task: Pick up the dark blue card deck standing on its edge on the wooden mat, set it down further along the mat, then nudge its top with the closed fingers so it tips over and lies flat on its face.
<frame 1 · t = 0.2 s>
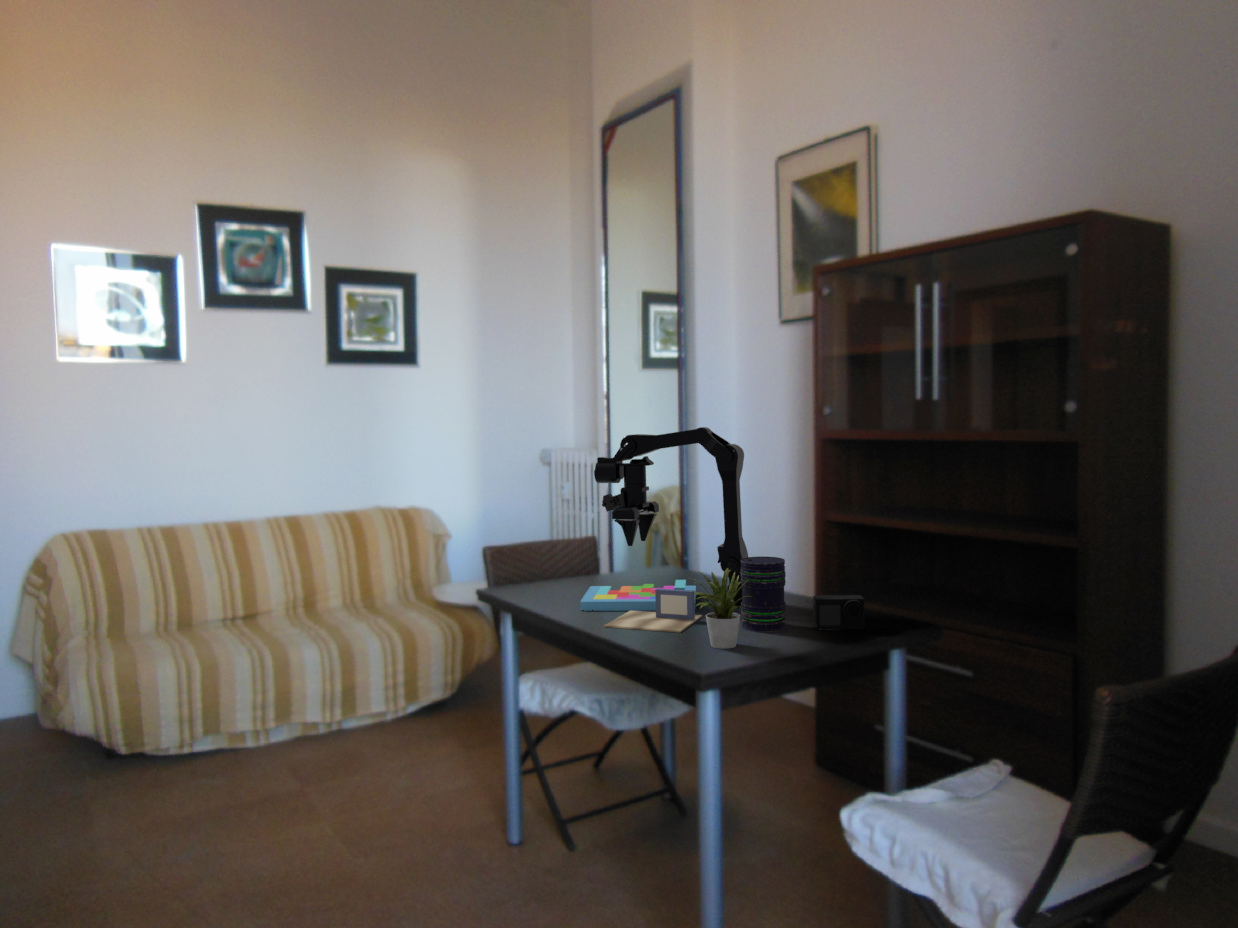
hand: (636, 543, 231), 14 cm above the table, tool pointing down, fingers open, 9 cm apart
wooden mat: (653, 621, 206), on the table
card deck: (675, 617, 207), resting on wooden mat
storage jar: (763, 627, 198), on the table
tetris game: (641, 601, 232), on the table
digital camera: (839, 629, 195), on the table
house plant: (720, 644, 185), on the table
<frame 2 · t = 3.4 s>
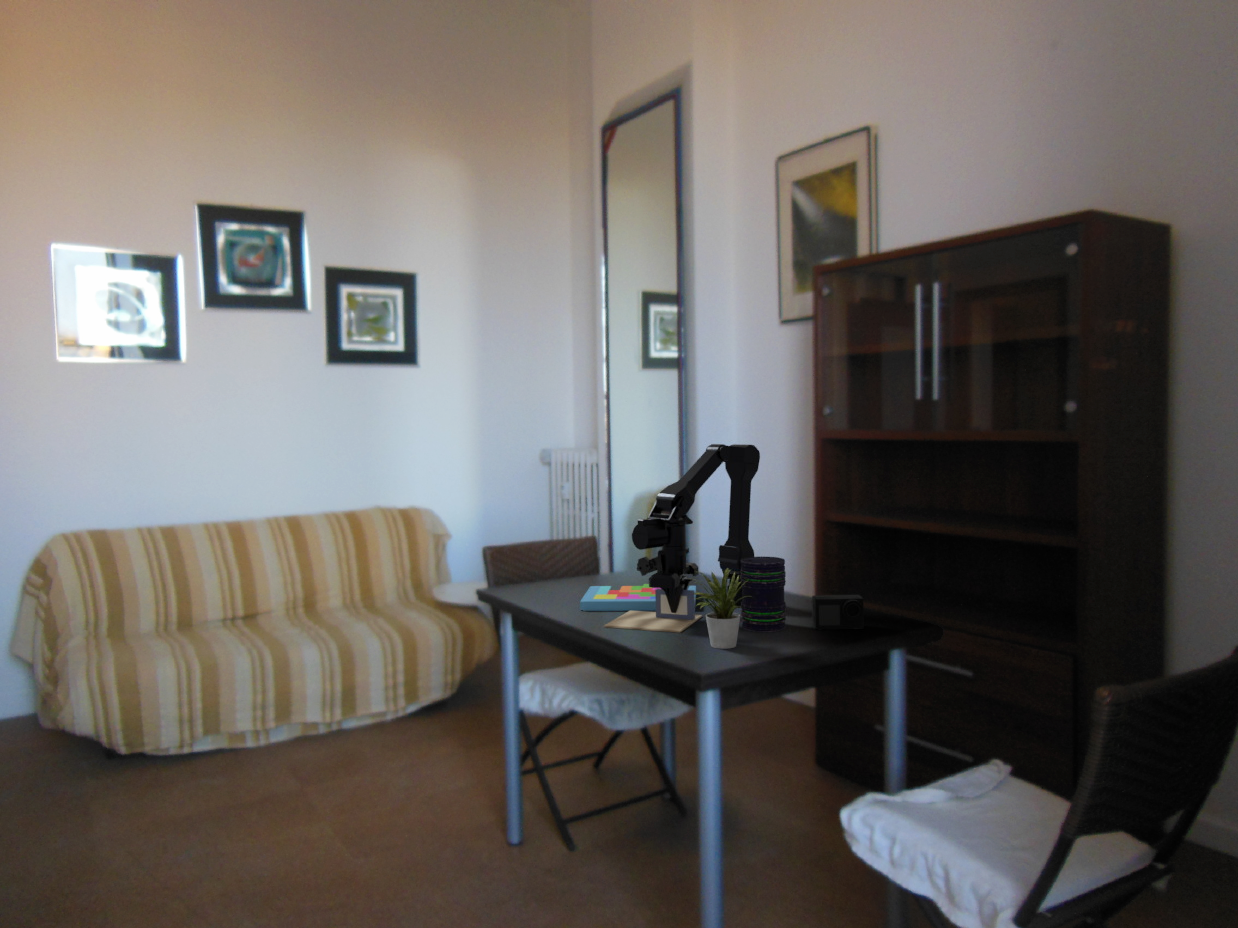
hand: (675, 611, 207), 2 cm above the table, tool pointing down, fingers closed on card deck, 2 cm apart
card deck: (675, 617, 207), resting on wooden mat, touching gripper
everything else where it was.
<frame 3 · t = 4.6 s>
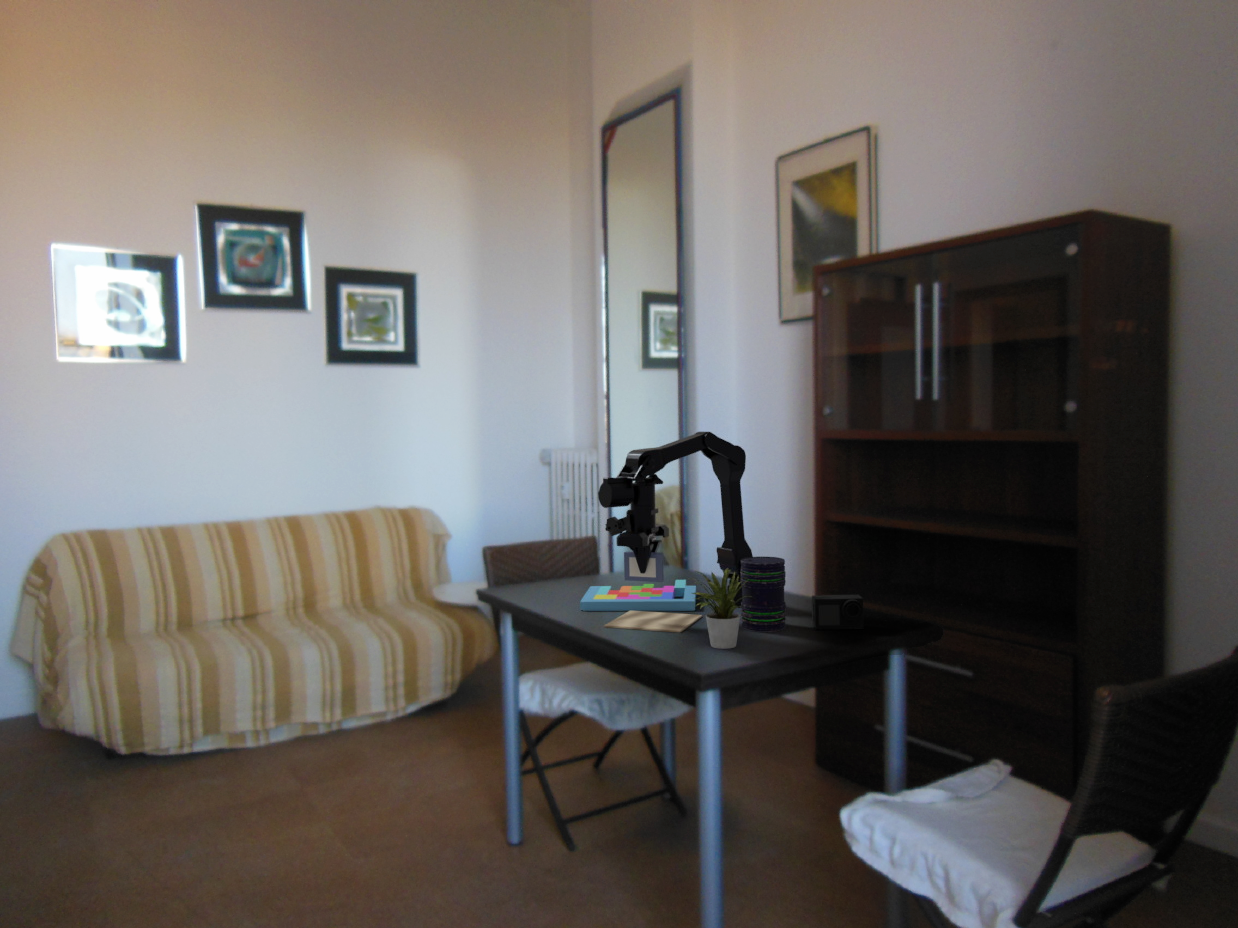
hand: (644, 572, 205), 11 cm above the table, tool pointing down, fingers closed on card deck
card deck: (644, 580, 205), point 10 cm above the table, touching gripper
everything else where it was.
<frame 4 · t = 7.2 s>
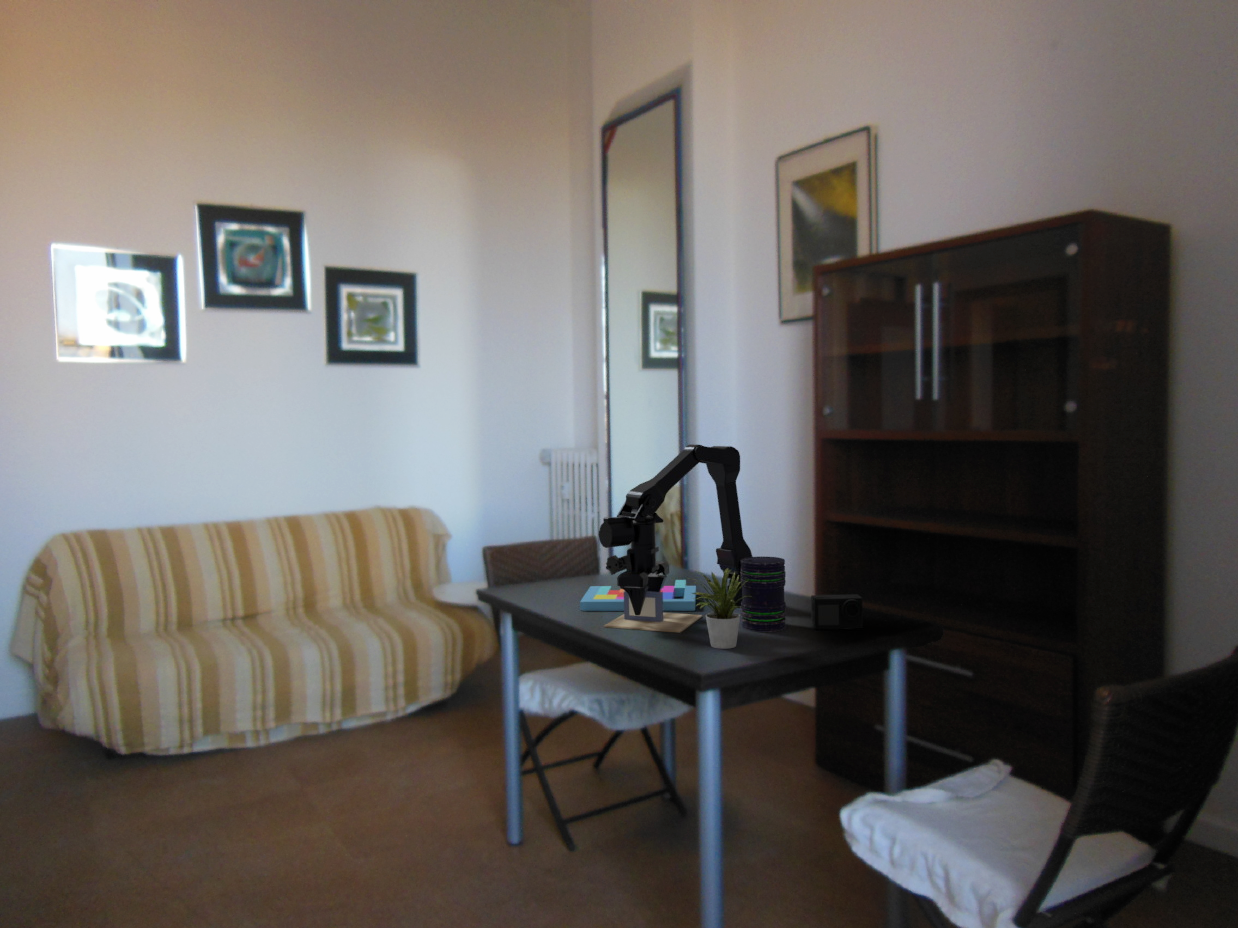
hand: (644, 610, 206), 3 cm above the table, tool pointing down, fingers open, 9 cm apart
card deck: (643, 619, 206), resting on wooden mat
everything else where it was.
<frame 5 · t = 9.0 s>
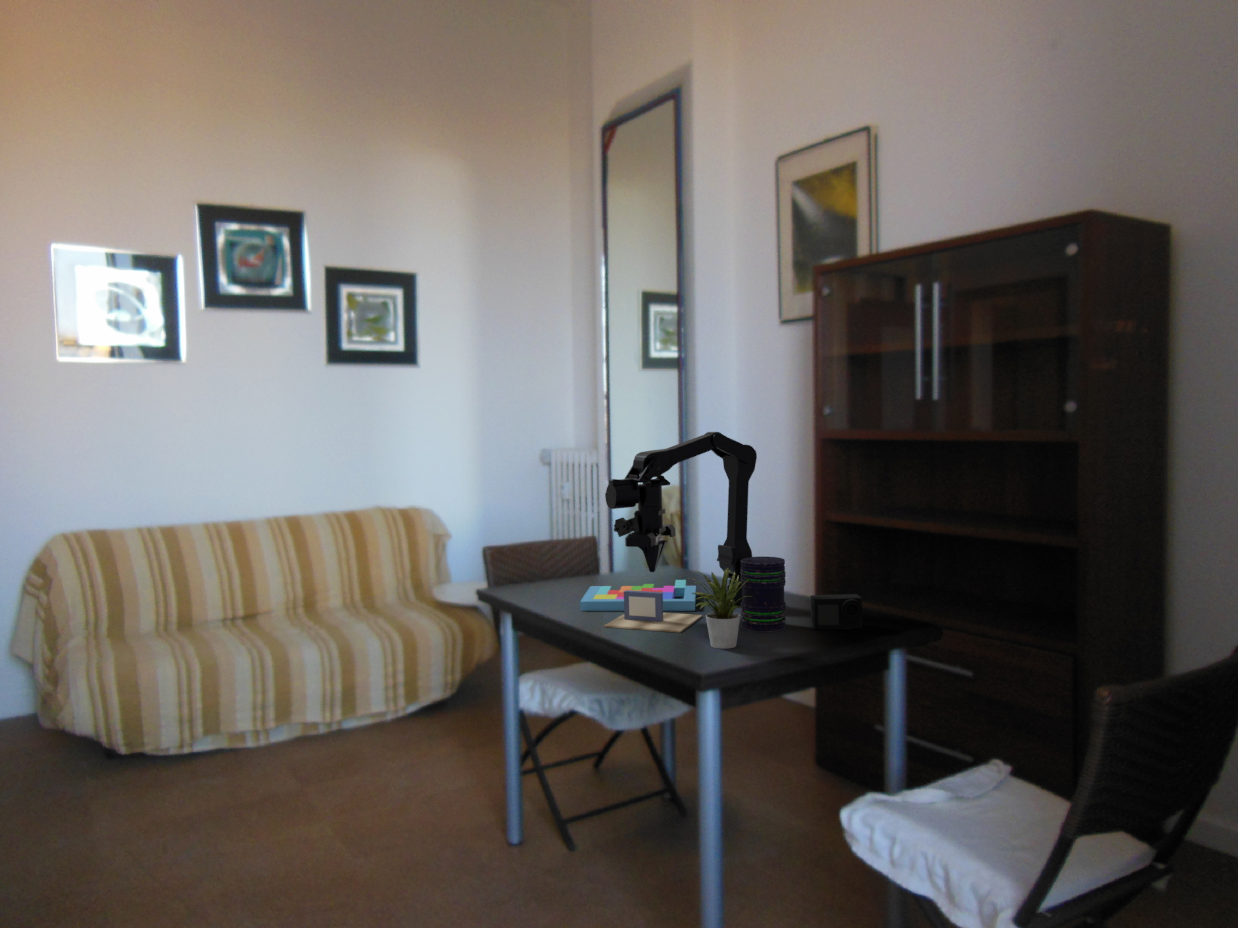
hand: (652, 571, 210), 11 cm above the table, tool pointing down, fingers closed
nothing on the table moved.
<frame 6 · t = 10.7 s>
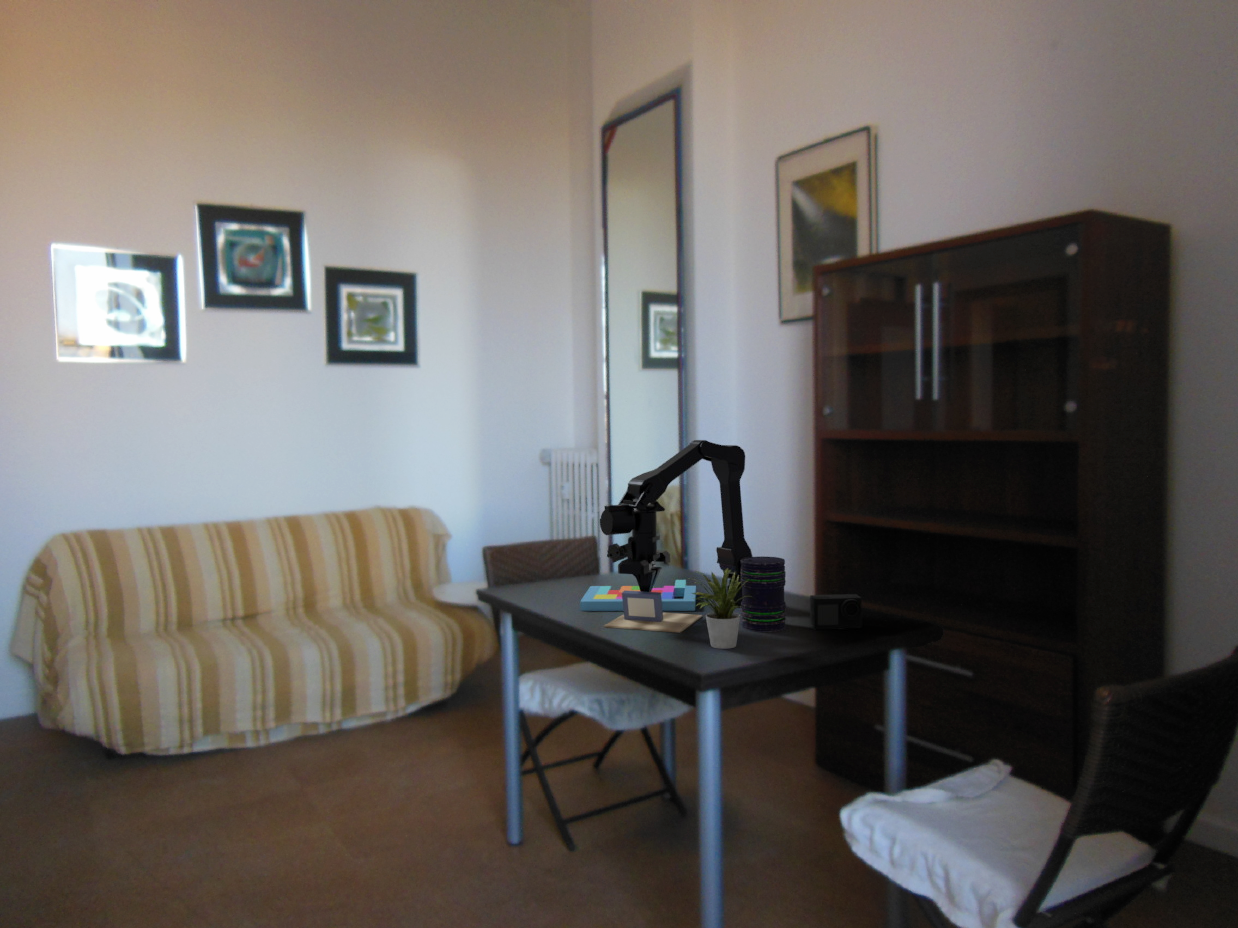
hand: (645, 598, 207), 5 cm above the table, tool pointing down, fingers closed
card deck: (643, 619, 206), point 1 cm above the table, tilted 10°, touching wooden mat, gripper
everything else where it was.
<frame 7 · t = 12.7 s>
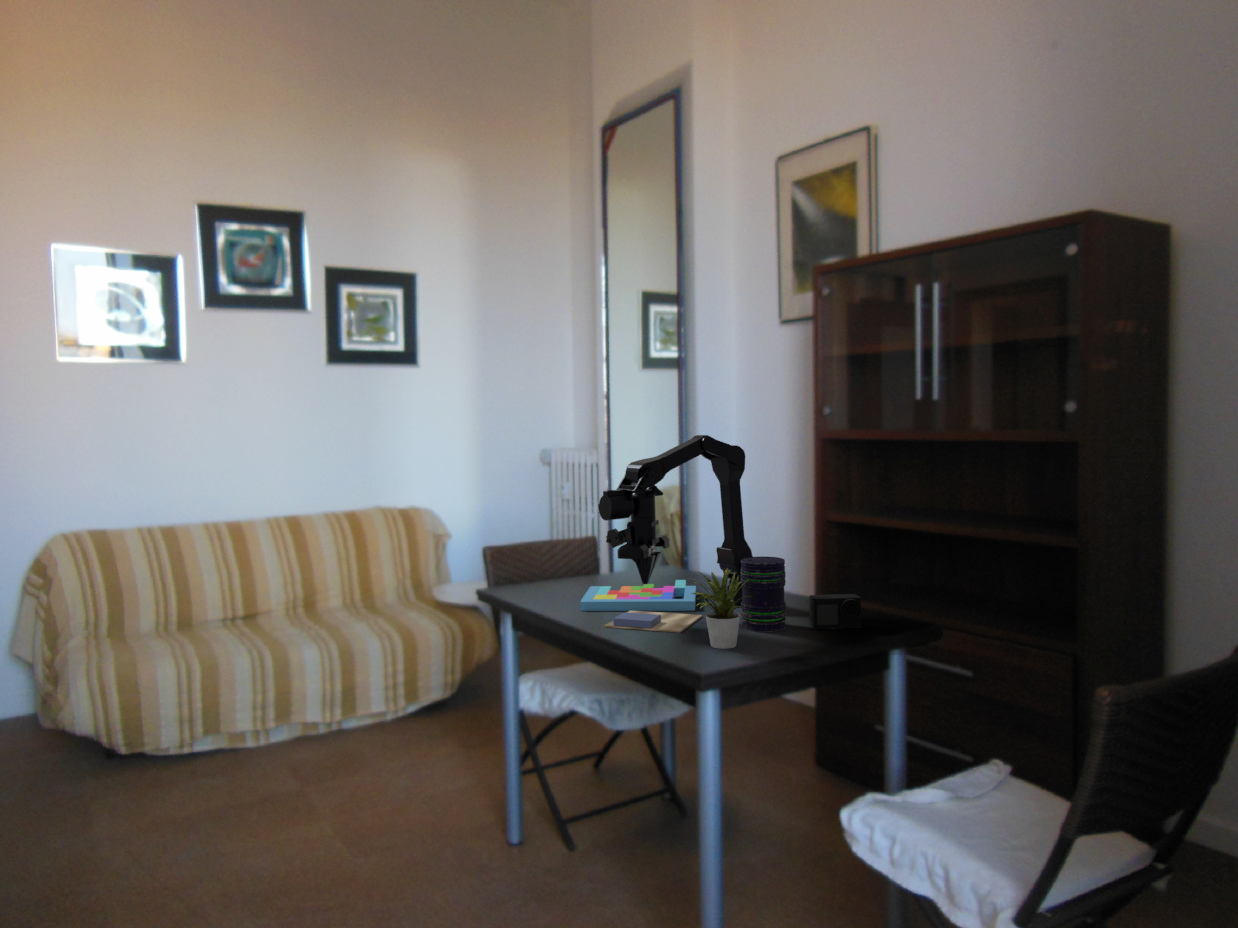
hand: (645, 583, 206), 9 cm above the table, tool pointing down, fingers closed
card deck: (642, 616, 205), point 1 cm above the table, tilted 90°, touching wooden mat
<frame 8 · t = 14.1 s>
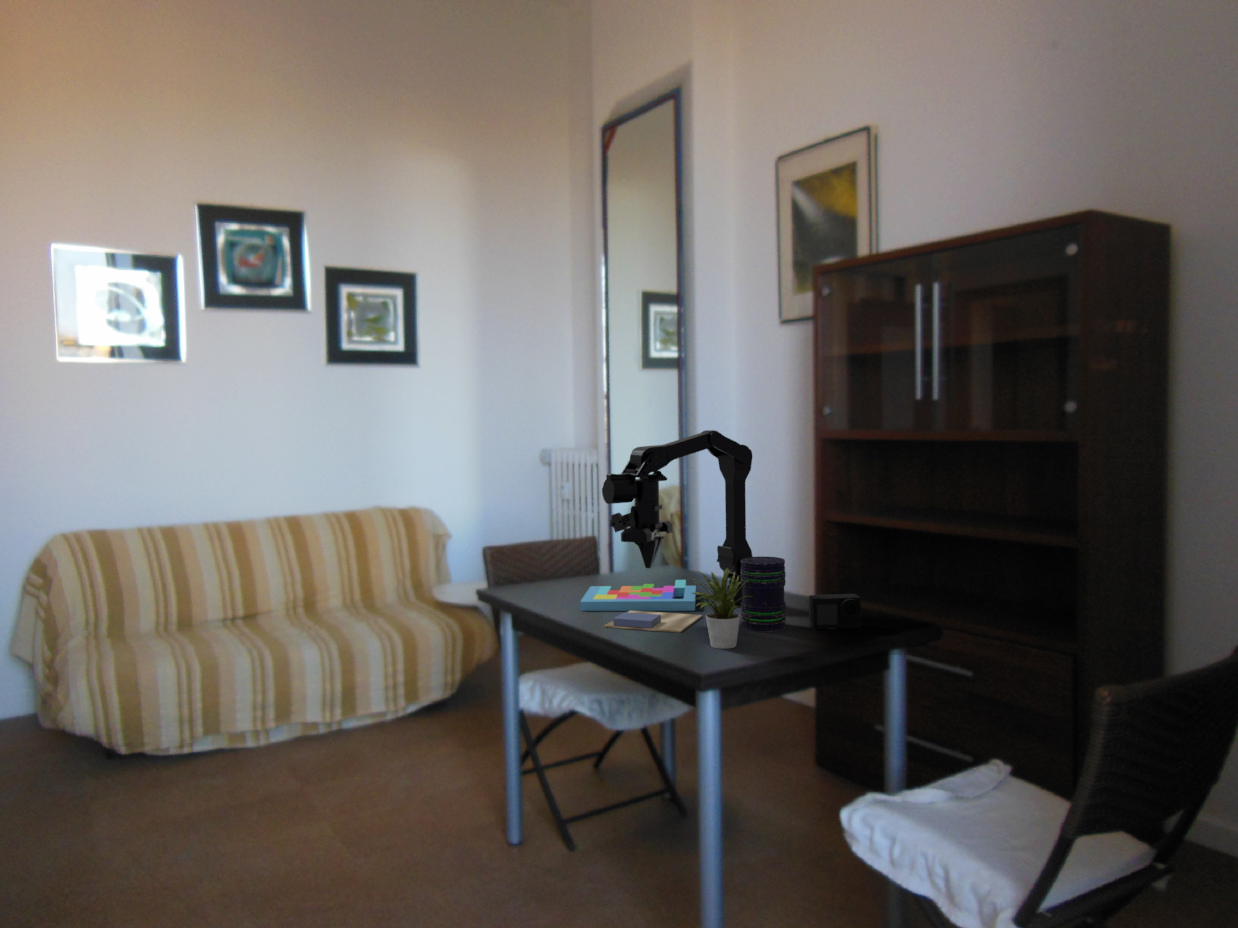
hand: (648, 567, 208), 12 cm above the table, tool pointing down, fingers closed
at the end: card deck tilted 90°; card deck inside the target area (0.4 cm from its centre), point 1.3 cm above the table; the gripper is holding nothing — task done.
